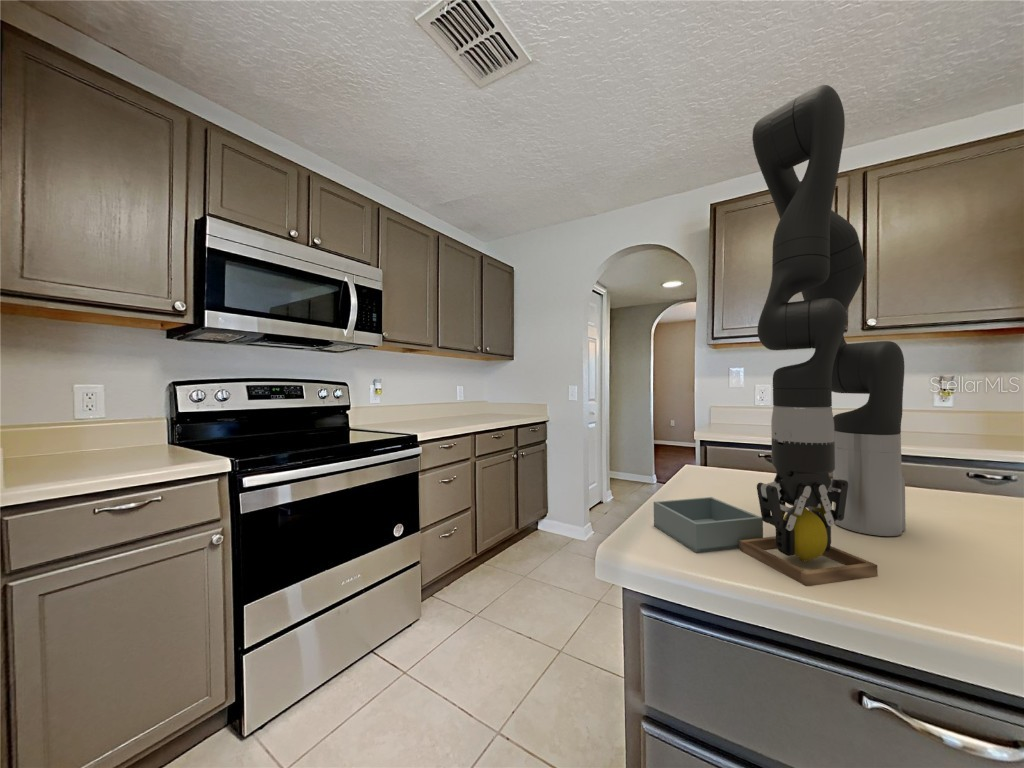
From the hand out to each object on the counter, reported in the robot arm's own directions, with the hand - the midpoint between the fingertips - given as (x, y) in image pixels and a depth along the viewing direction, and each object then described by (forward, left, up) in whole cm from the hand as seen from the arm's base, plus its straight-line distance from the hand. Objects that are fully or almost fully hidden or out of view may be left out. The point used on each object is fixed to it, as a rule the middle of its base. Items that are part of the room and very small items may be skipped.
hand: (803, 550), depth 59 cm
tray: (0, 0, -2) cm, 2 cm away
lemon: (0, 0, -2) cm, 2 cm away
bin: (+7, -12, -2) cm, 14 cm away
